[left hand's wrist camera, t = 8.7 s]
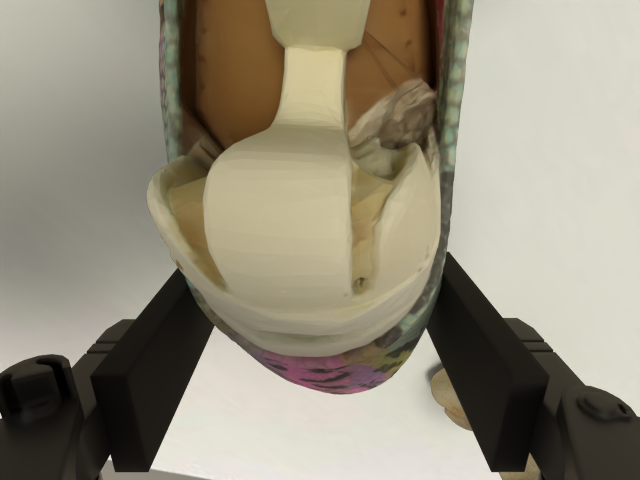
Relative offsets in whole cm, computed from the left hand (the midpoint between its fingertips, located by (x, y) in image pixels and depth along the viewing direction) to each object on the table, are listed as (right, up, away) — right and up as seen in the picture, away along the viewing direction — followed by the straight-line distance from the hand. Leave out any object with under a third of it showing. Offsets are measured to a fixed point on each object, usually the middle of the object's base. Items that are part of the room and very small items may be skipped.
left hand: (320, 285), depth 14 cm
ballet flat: (0, +8, -2) cm, 8 cm away
